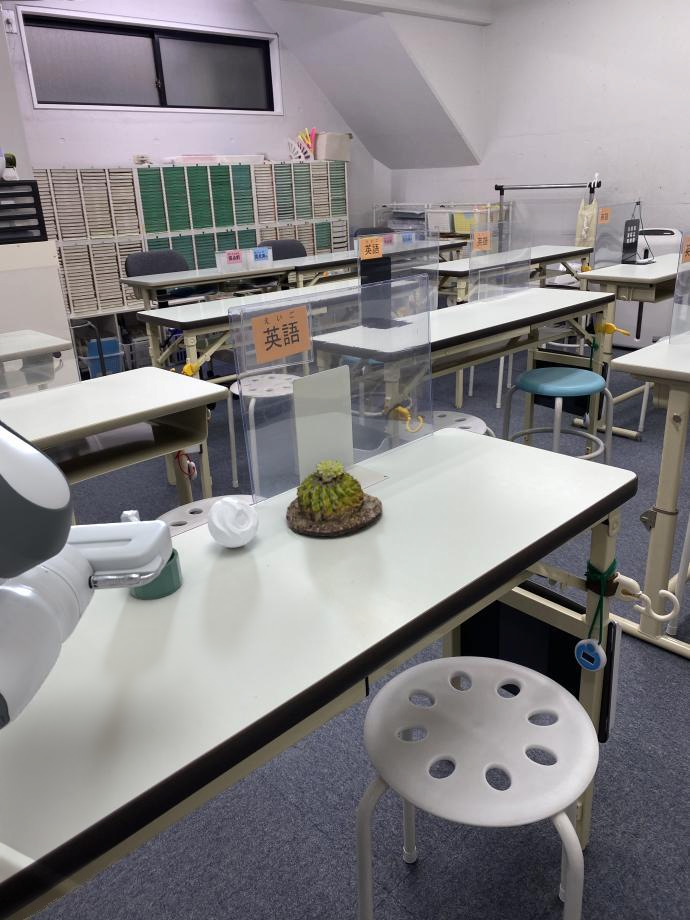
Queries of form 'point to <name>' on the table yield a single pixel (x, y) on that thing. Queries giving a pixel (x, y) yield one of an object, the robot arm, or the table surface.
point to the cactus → (331, 503)
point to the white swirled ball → (232, 522)
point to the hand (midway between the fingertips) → (89, 519)
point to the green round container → (161, 581)
